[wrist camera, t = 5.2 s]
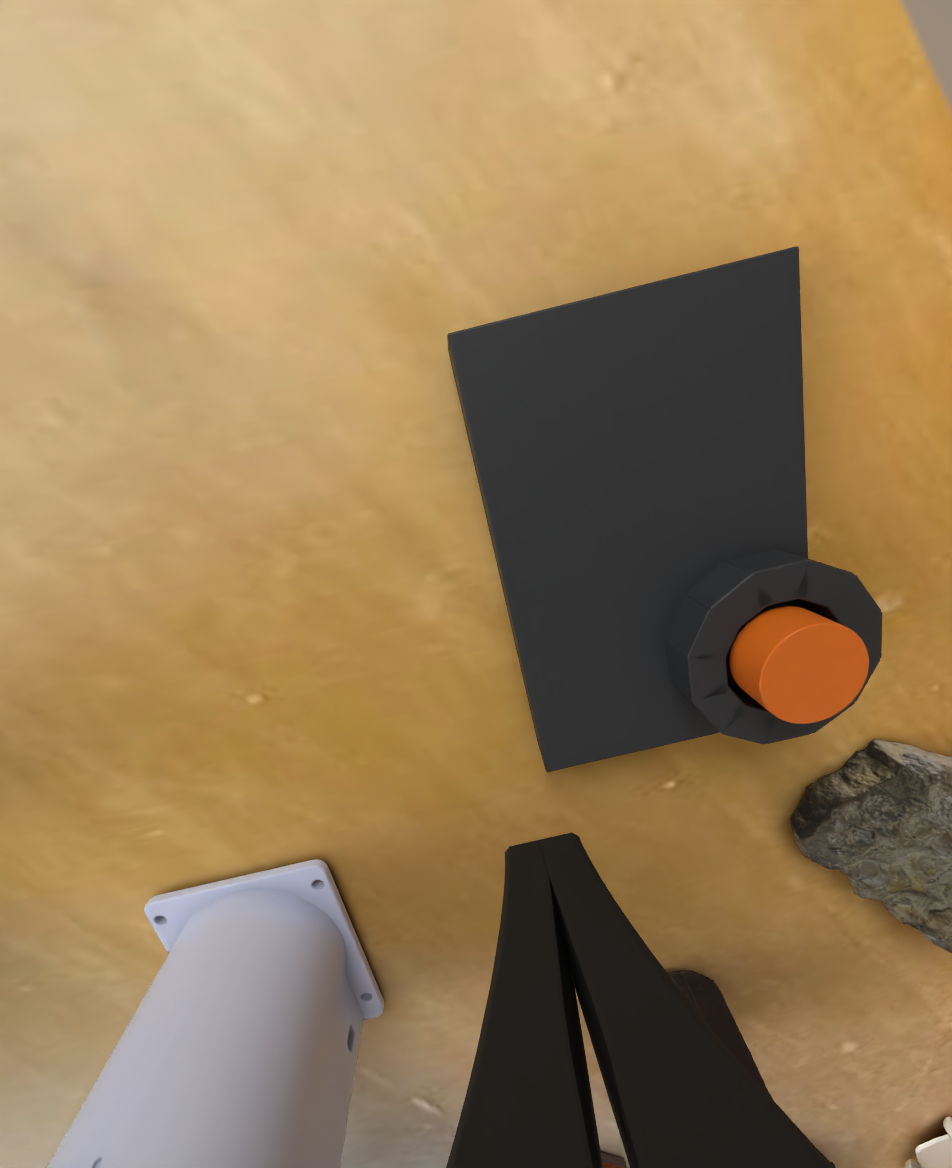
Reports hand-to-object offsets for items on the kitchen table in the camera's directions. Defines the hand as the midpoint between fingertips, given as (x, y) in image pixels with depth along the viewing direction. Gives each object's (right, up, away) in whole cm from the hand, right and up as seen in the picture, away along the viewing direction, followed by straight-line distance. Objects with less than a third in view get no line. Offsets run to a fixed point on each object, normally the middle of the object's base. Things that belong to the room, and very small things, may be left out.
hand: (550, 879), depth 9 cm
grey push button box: (+4, +7, +8) cm, 12 cm away
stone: (+19, -5, +12) cm, 23 cm away
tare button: (+8, +3, +6) cm, 11 cm away
